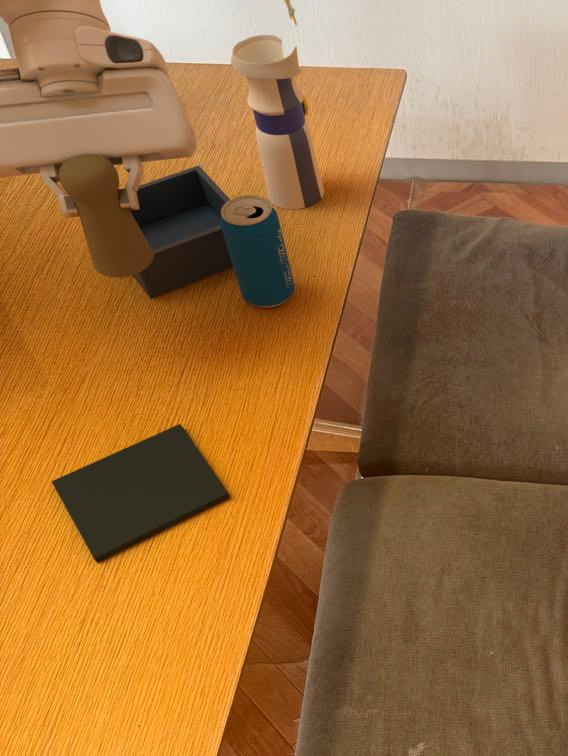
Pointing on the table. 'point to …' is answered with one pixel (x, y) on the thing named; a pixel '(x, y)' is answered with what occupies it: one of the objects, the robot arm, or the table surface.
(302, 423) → the table surface
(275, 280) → the beverage can
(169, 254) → the bin
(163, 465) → the mat
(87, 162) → the brown pawn
